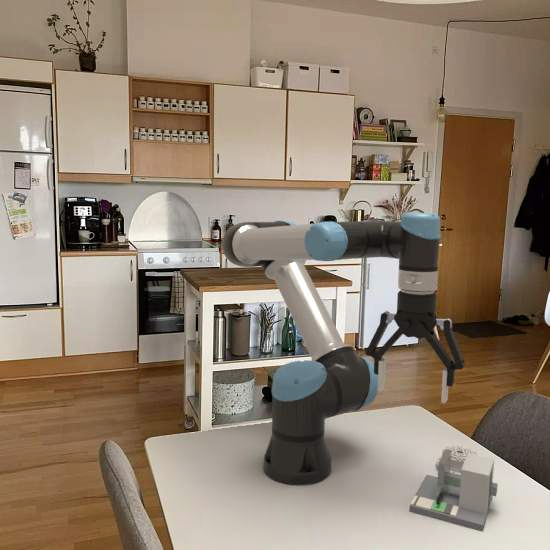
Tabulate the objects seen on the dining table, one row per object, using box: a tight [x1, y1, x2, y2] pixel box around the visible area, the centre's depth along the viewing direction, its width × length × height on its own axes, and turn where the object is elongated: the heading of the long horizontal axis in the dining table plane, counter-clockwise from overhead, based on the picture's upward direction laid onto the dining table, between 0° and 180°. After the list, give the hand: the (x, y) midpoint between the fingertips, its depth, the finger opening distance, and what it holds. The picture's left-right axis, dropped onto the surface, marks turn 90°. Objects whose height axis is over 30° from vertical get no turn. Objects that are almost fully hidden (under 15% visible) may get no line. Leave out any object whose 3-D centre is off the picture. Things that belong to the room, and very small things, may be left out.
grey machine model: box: [436, 448, 499, 505], centre depth 109 cm, size 11×10×7 cm
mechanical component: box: [435, 444, 479, 475], centre depth 126 cm, size 10×4×10 cm
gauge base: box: [409, 453, 495, 532], centre depth 111 cm, size 14×14×9 cm
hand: (412, 395), depth 114 cm, fingers open, 12 cm apart
